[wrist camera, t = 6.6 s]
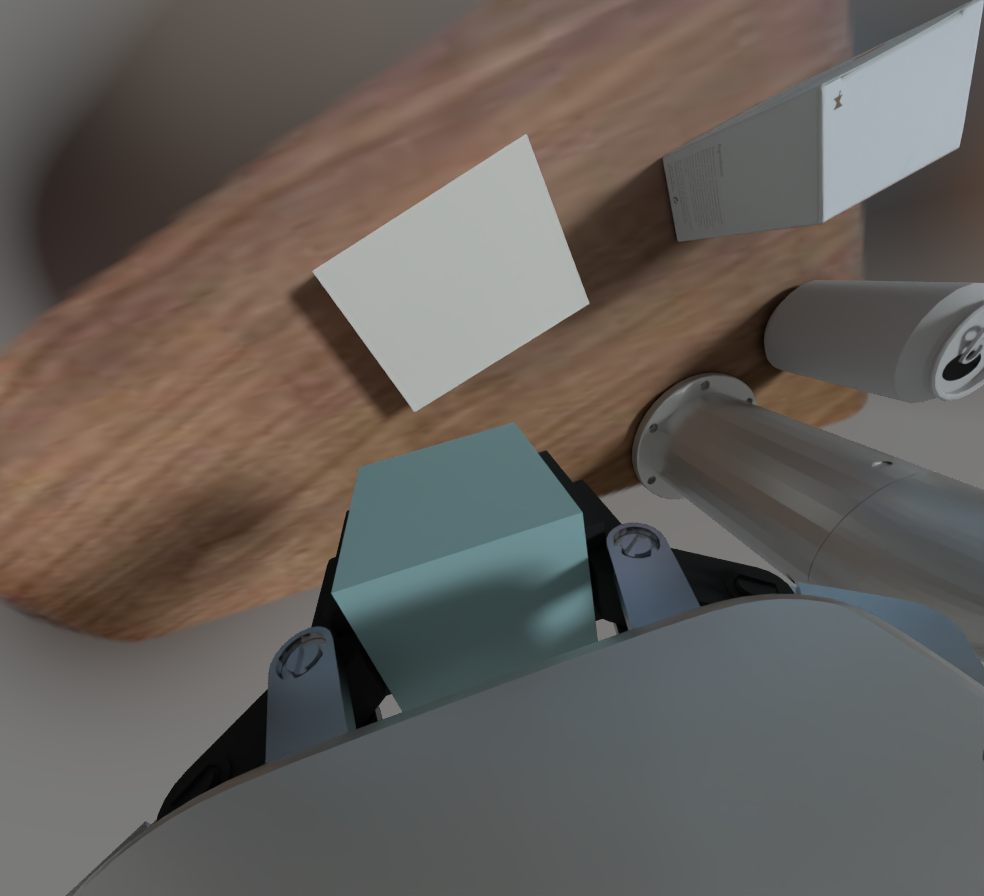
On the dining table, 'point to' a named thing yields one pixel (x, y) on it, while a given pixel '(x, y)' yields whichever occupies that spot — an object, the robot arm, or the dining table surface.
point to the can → (883, 337)
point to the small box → (830, 136)
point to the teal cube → (463, 565)
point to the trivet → (459, 277)
